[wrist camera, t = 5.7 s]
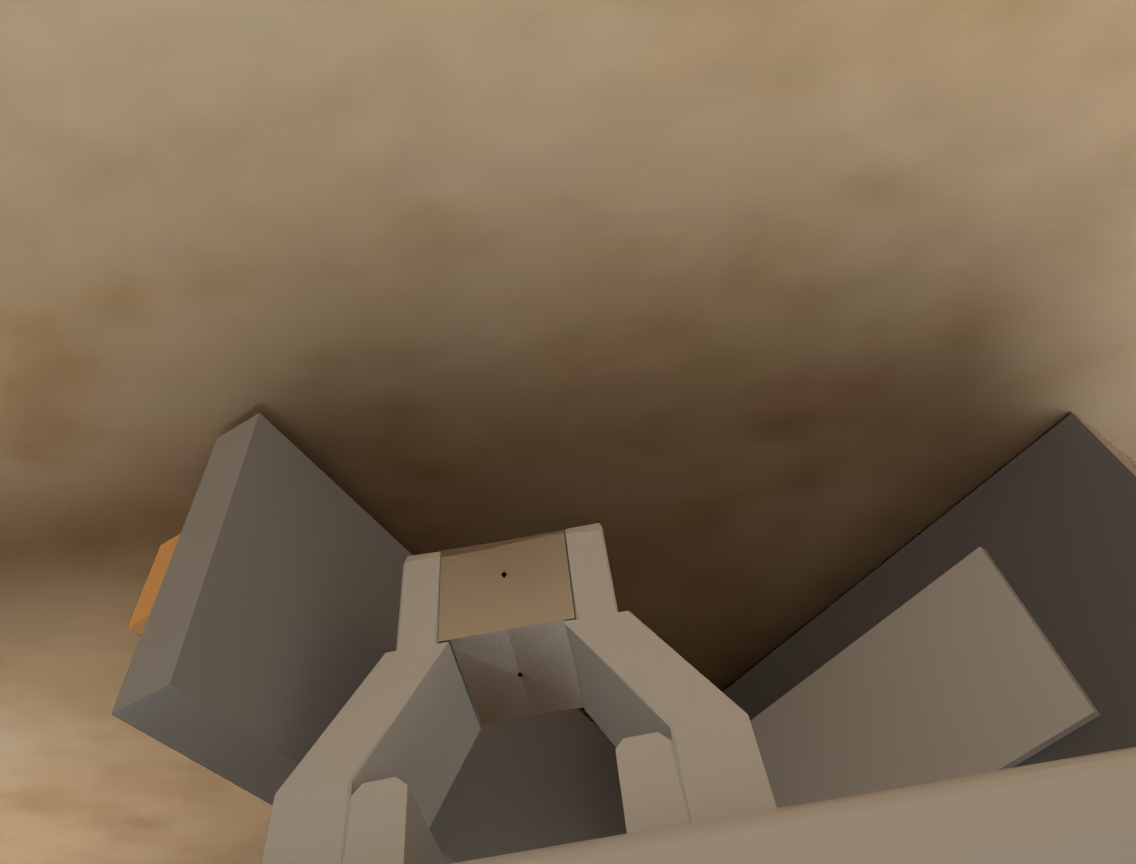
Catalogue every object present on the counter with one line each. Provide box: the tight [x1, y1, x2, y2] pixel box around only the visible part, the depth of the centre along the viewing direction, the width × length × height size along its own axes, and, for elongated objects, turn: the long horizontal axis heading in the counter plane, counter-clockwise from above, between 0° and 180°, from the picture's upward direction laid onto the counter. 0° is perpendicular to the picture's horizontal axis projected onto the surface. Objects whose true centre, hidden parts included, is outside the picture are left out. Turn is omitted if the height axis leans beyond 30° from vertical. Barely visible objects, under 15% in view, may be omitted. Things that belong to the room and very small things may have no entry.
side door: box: [112, 413, 627, 864], centre depth 13 cm, size 2×12×5 cm, turn 31°
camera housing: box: [723, 413, 1136, 808], centre depth 17 cm, size 12×12×6 cm
